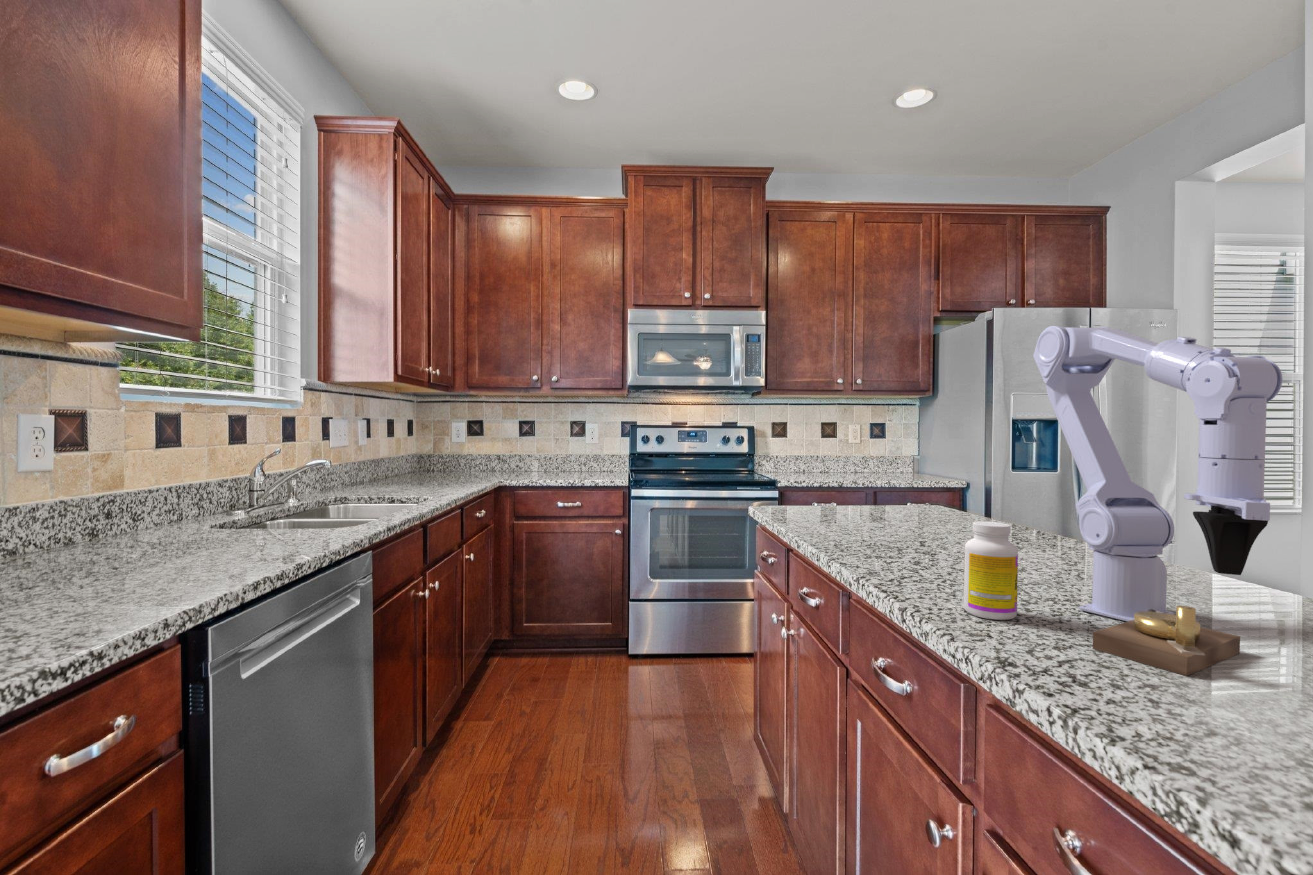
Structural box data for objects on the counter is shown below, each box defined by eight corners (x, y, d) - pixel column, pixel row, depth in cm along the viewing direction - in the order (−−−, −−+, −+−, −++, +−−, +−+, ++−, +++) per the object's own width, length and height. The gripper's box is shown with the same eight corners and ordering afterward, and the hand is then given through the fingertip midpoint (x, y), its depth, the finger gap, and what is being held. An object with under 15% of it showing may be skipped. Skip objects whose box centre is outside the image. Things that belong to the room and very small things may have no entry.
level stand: (1148, 630, 79) (1149, 603, 79) (1246, 655, 71) (1247, 624, 71) (1092, 648, 72) (1093, 618, 72) (1194, 678, 64) (1195, 644, 64)
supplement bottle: (1024, 623, 82) (1026, 528, 81) (971, 619, 83) (973, 526, 83) (1006, 608, 88) (1008, 521, 88) (957, 605, 90) (959, 519, 89)
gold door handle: (1127, 620, 76) (1128, 585, 76) (1188, 627, 73) (1189, 591, 73) (1153, 646, 67) (1154, 605, 67) (1223, 655, 64) (1224, 613, 64)
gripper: (1167, 455, 80) (1164, 557, 80) (1210, 460, 66) (1207, 583, 67) (1237, 456, 76) (1234, 563, 77) (1298, 462, 63) (1294, 591, 64)
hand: (1227, 573), depth 72 cm, fingers closed
